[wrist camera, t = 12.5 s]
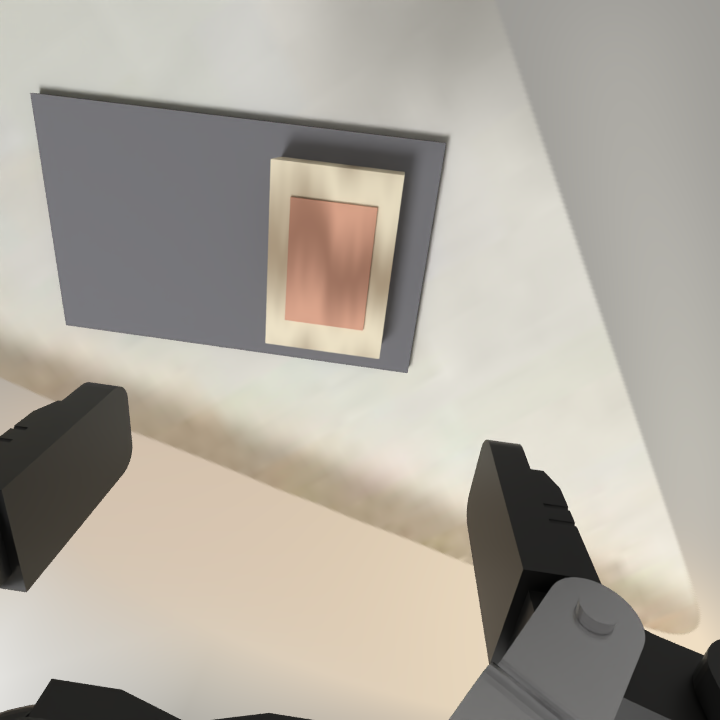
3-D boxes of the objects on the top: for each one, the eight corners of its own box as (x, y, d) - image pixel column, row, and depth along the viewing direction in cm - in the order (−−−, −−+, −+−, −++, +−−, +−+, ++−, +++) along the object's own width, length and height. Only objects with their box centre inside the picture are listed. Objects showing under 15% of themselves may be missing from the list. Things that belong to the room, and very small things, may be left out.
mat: (72, 321, 30) (66, 324, 29) (38, 93, 25) (30, 92, 24) (407, 368, 29) (407, 373, 28) (445, 142, 24) (446, 143, 23)
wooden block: (269, 158, 22) (404, 175, 22) (281, 156, 24) (405, 171, 24) (264, 344, 26) (379, 360, 26) (274, 329, 28) (381, 343, 28)
